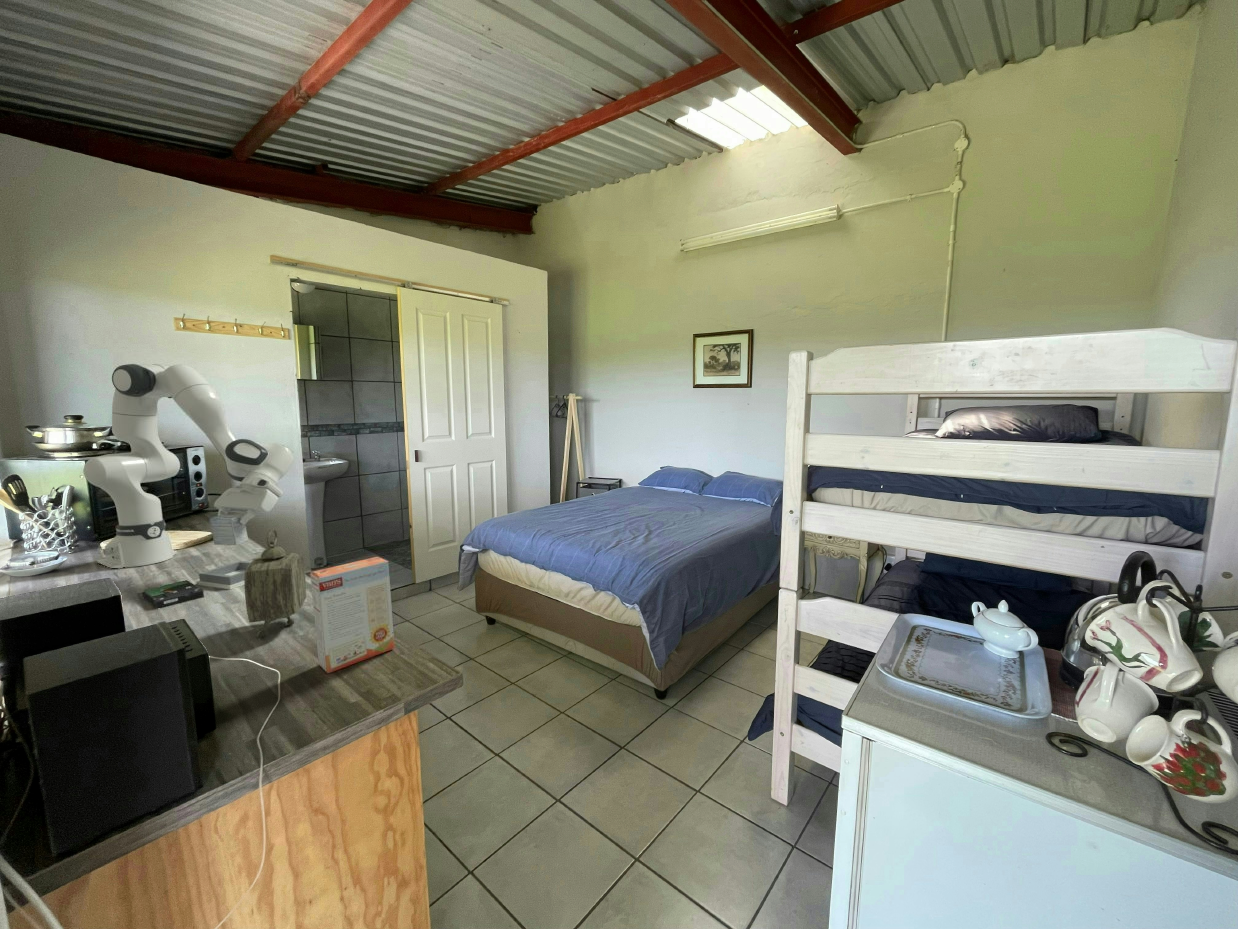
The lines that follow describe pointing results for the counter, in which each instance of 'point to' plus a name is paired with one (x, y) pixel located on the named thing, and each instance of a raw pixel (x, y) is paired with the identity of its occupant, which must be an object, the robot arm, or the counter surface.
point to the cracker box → (352, 612)
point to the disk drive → (172, 594)
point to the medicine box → (228, 530)
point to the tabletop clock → (274, 585)
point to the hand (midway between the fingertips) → (229, 522)
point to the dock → (224, 576)
